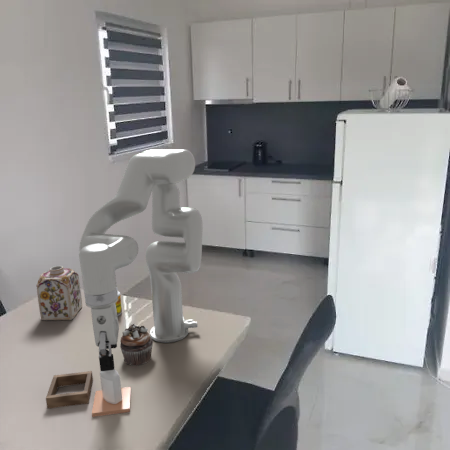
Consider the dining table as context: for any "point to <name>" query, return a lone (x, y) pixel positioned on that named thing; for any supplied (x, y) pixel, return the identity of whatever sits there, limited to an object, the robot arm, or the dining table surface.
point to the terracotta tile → (107, 408)
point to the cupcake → (136, 345)
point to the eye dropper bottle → (111, 386)
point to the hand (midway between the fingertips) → (109, 358)
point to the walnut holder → (69, 398)
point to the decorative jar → (59, 294)
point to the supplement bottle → (118, 304)
